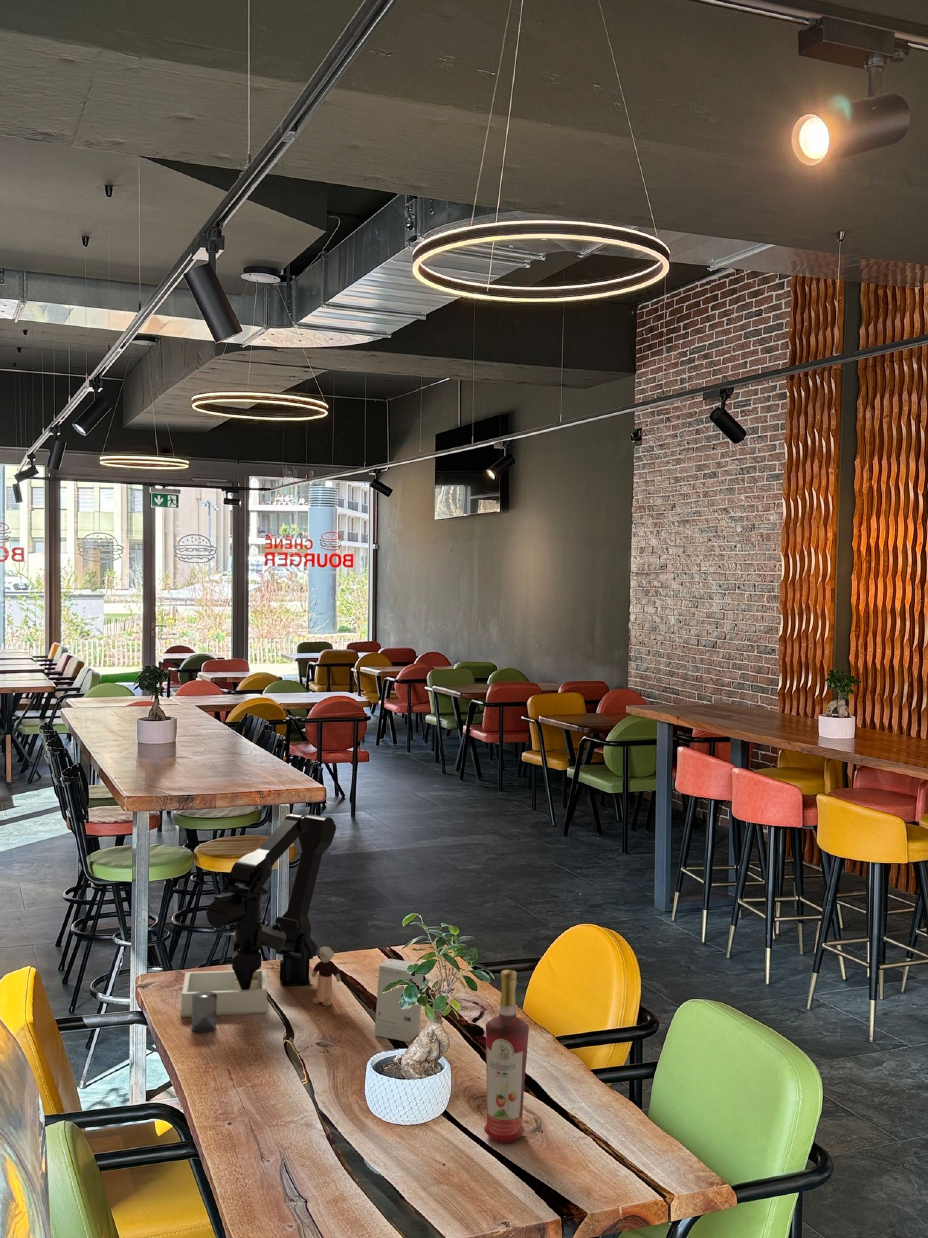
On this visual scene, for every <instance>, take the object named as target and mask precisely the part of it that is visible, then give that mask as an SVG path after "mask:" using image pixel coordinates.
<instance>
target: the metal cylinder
mask: <svg viewBox="0 0 928 1238" xmlns="http://www.w3.org/2000/svg"><path fill="white" fill-rule="evenodd" d="M216 1005H217V994H216V993H215V992H211V991H202V992H197V993H195V994H193V995H192V1017H191V1027H190V1028H191V1029H190V1030H191V1032H193V1033H195V1034H209V1033H212V1032H214V1031H216V1029H217V1016H216Z"/></svg>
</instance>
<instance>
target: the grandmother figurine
mask: <svg viewBox="0 0 928 1238" xmlns="http://www.w3.org/2000/svg"><path fill="white" fill-rule="evenodd" d="M318 953H319V955H320V956H319V959H320V961H319V962H318V963H316V964H315V966H314V967H313V968H312V969H313V971H312V972H311V978H316V977H317V974H318V977H317V987H316V997H315V998H314V999H313V1000H312V1003H314V1004H321V1005H322V1006H330V1005H332V1004H333V1000H332V996H333V977H335V980H336V982H337V983H340V982H341V981H342V979H341V975H340V971H339V970H338V968H337V967H336V965H334V964H332V962H330V961H331V960H332V958H334V957H335V953H334V951H333V950H332V948H330V947H329V946H322V947H320V948H319V951H318Z"/></svg>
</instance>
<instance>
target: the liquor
mask: <svg viewBox="0 0 928 1238" xmlns="http://www.w3.org/2000/svg"><path fill="white" fill-rule="evenodd" d="M500 985H501V994H500V1002H499V1003H500V1004H499V1010H498V1016H494V1017H493V1018H491V1019H490V1020H489V1021H487V1022H486V1023H485V1062H486V1063H485V1064H486V1065H485V1066H486V1067H485V1068H486V1123H485V1125H484V1126H483V1130H484V1132H485V1133H486V1134H487V1136H488V1137H489V1138H490V1139H491V1140H492V1139H493V1140H494V1141H493V1140H492V1141H493V1142H495V1141H497V1142H496V1143H498V1142H503V1143H502V1144H510V1143H509V1142H511V1143H513V1141H514V1142H516V1140H518V1139H519V1138H520V1137H522V1136H523V1134H524V1133H525V1128H524V1126H523V1110H524V1096H525V1095H524V1094H525V1079H526V1069H527V1068H526V1067H527V1057H528V1045H529V1044H528V1043H529V1031H530V1028H529V1027H530V1026H529V1025H528V1023H527V1022H525V1021H524V1020H523V1019H522V1018H520V1017H518V1016H517V1008H516V1007H517V1004H516V988H517V987H516V986H517V971H515V970H512V969H503V970H502V971H500ZM506 1142H507V1143H506Z"/></svg>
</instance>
